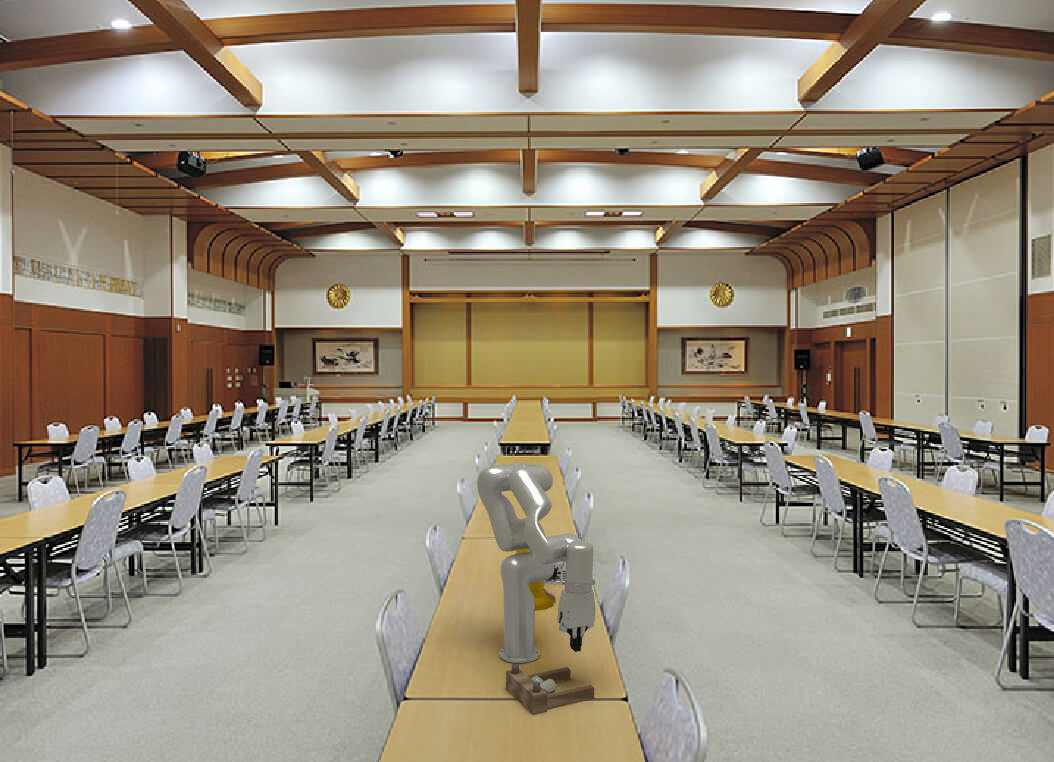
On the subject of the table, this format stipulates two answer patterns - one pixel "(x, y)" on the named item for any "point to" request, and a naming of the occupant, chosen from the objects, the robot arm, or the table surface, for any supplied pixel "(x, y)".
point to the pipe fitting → (545, 684)
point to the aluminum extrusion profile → (557, 574)
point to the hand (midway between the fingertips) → (575, 649)
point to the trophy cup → (540, 593)
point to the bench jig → (538, 697)
